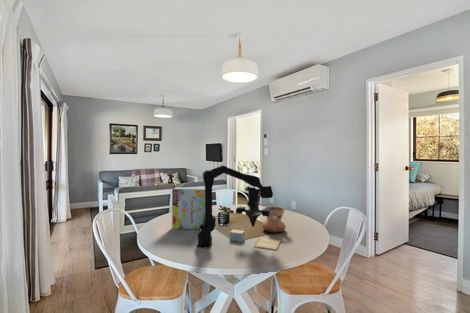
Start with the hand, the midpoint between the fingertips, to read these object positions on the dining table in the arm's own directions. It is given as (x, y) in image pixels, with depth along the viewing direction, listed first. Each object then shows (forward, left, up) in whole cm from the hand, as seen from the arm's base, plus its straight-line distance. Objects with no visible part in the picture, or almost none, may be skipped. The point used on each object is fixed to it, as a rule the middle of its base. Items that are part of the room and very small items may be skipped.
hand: (253, 226), depth 135 cm
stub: (-9, 0, -8) cm, 12 cm away
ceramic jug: (+7, +24, -9) cm, 26 cm away
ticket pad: (+8, 0, -8) cm, 12 cm away
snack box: (-45, +9, -9) cm, 46 cm away
